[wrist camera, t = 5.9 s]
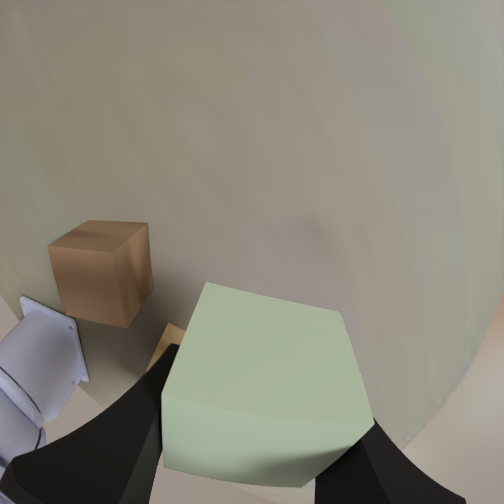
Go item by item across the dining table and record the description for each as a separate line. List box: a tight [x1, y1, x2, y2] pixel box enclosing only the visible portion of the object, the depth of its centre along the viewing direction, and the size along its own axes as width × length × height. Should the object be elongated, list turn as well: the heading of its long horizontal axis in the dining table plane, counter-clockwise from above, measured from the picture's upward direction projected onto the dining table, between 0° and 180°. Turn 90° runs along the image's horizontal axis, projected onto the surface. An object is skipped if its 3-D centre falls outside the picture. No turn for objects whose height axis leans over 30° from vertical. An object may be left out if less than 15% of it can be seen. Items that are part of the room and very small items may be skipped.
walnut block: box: [48, 220, 154, 329], centre depth 16 cm, size 5×5×5 cm
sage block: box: [162, 282, 375, 487], centre depth 8 cm, size 5×5×5 cm
